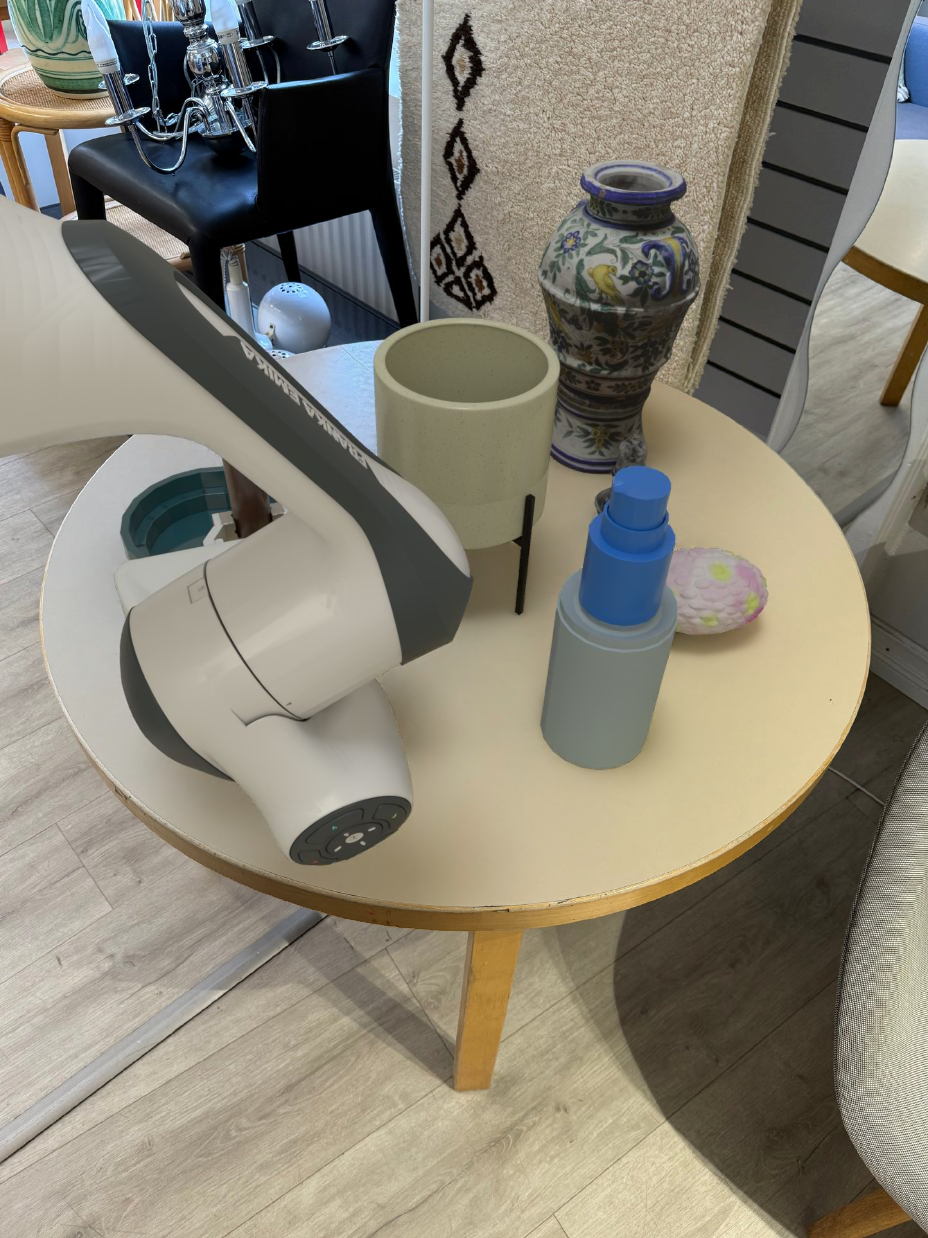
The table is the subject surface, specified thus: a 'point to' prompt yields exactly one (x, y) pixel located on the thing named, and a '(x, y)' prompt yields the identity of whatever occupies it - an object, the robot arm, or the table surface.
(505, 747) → the table surface
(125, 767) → the table surface
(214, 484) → the dish
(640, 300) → the vase
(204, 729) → the robot arm
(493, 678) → the table surface
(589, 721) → the spray bottle
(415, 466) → the planter
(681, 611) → the decorative item
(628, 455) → the salt shaker
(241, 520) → the post on square base
